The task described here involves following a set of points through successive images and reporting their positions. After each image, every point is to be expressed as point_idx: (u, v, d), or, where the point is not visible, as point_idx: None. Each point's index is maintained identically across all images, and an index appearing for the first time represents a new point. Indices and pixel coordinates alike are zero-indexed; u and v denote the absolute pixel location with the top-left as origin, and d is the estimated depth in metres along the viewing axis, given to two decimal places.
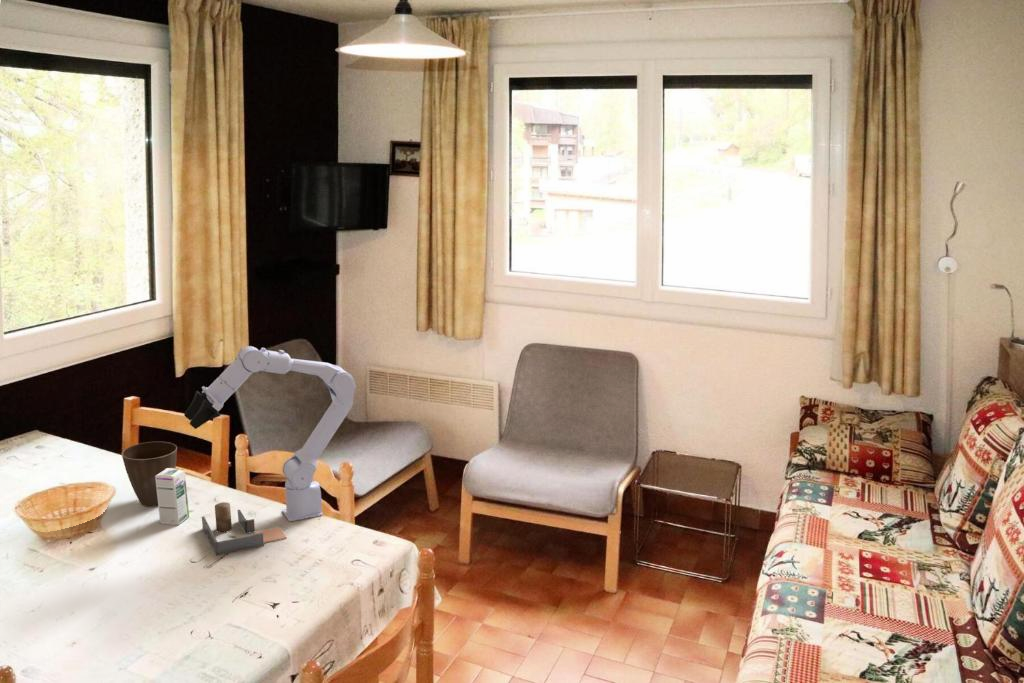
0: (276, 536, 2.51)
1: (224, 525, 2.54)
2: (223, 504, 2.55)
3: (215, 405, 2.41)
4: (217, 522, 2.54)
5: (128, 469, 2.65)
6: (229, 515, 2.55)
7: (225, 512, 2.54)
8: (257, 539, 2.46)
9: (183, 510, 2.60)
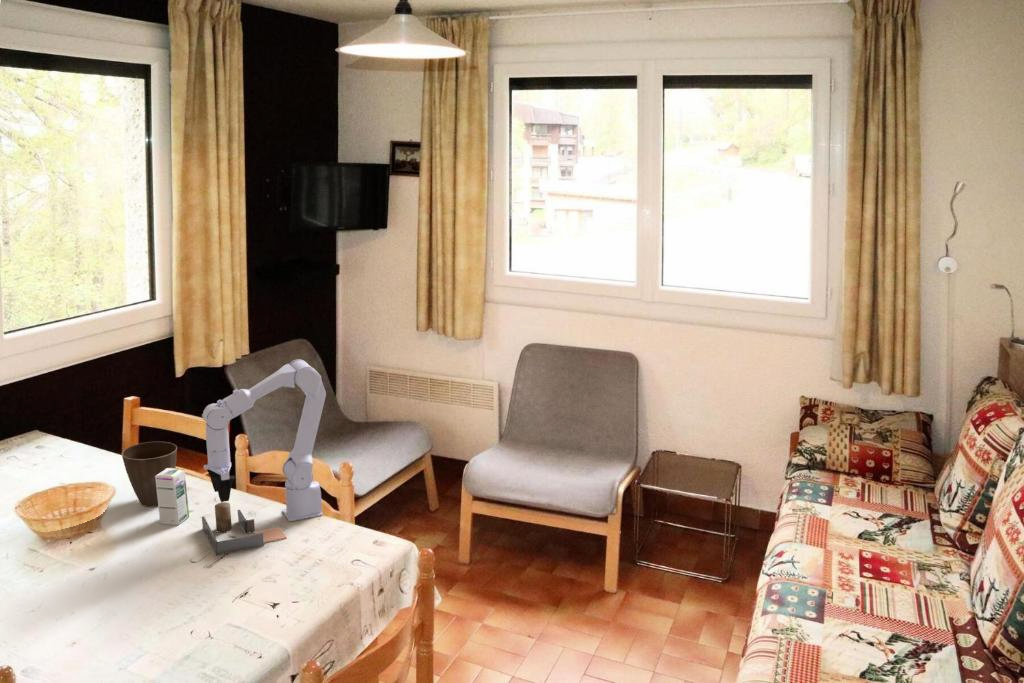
0: (276, 536, 2.51)
1: (224, 525, 2.54)
2: (223, 504, 2.55)
3: (222, 477, 2.46)
4: (217, 522, 2.54)
5: (128, 469, 2.65)
6: (229, 515, 2.55)
7: (225, 512, 2.54)
8: (257, 539, 2.46)
9: (183, 510, 2.60)
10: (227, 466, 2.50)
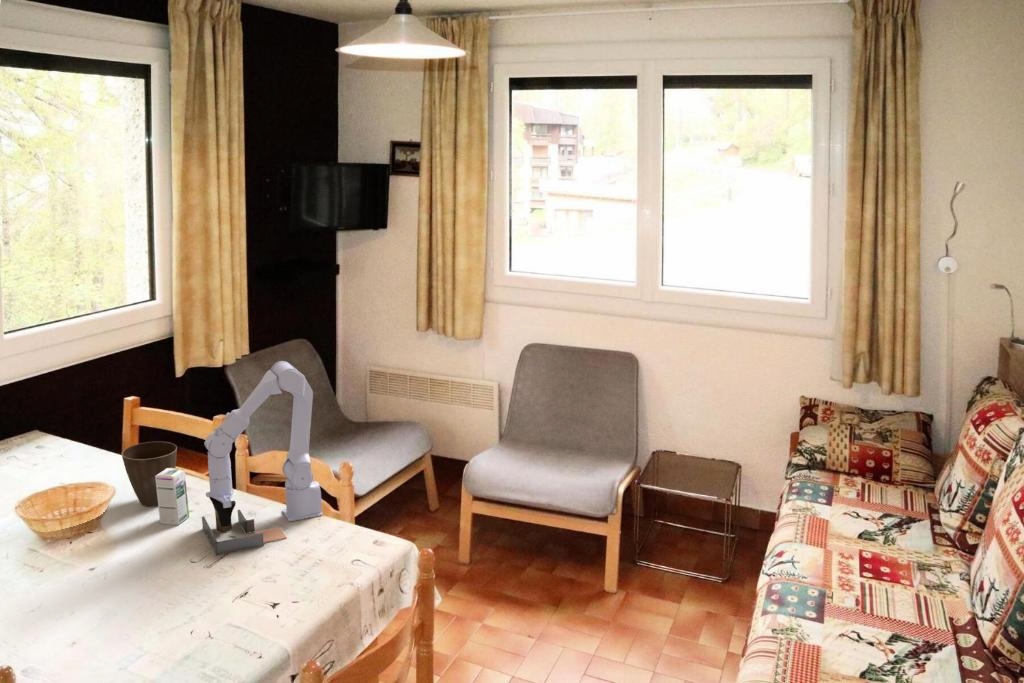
0: (276, 536, 2.51)
1: None
2: None
3: (224, 505, 2.48)
4: (217, 522, 2.54)
5: (128, 469, 2.65)
6: None
7: None
8: (257, 539, 2.46)
9: (183, 510, 2.60)
10: (229, 493, 2.52)
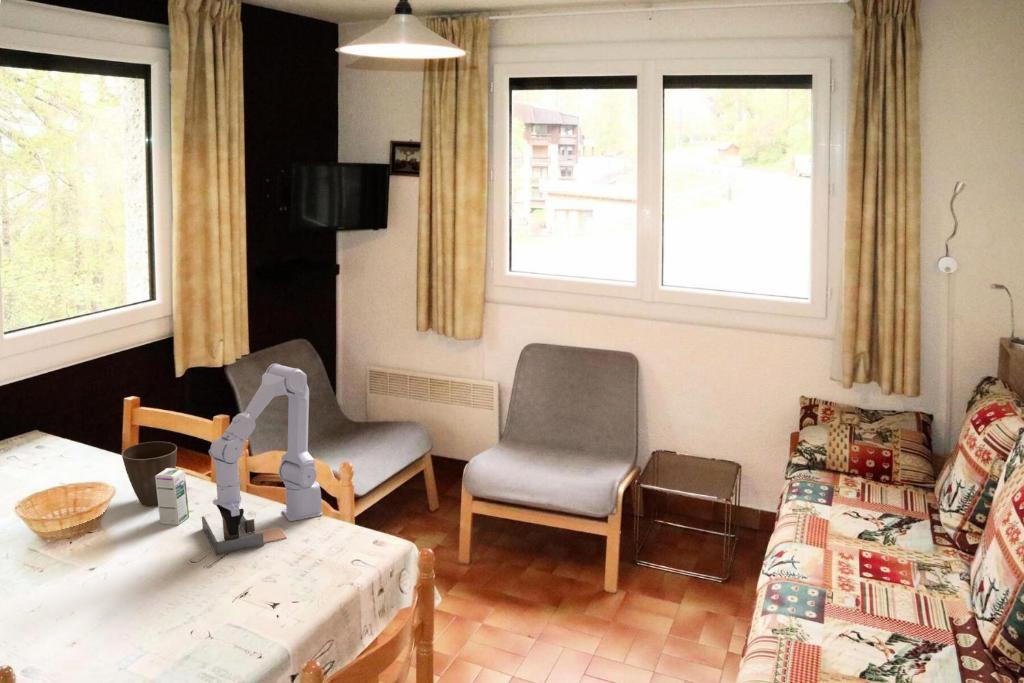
0: (276, 536, 2.51)
1: None
2: None
3: (232, 513, 2.39)
4: (225, 531, 2.45)
5: (128, 469, 2.65)
6: None
7: None
8: (257, 539, 2.46)
9: (183, 510, 2.60)
10: (237, 501, 2.43)
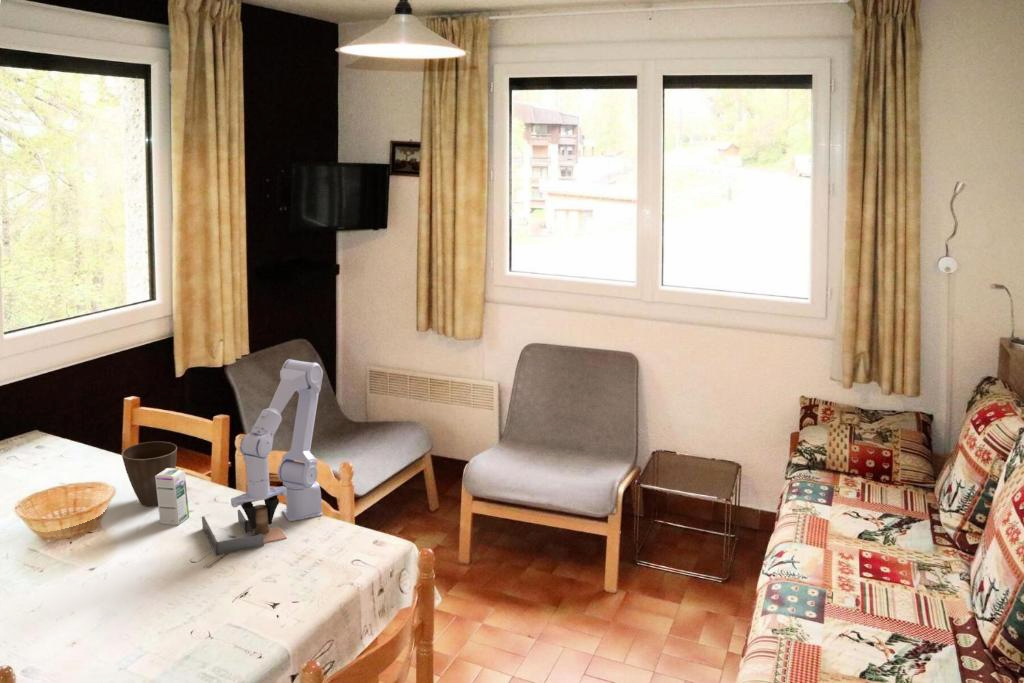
0: (276, 536, 2.51)
1: None
2: (262, 507, 2.49)
3: (231, 503, 2.45)
4: None
5: (128, 469, 2.65)
6: (257, 520, 2.48)
7: None
8: (257, 539, 2.46)
9: (183, 510, 2.60)
10: (251, 497, 2.46)
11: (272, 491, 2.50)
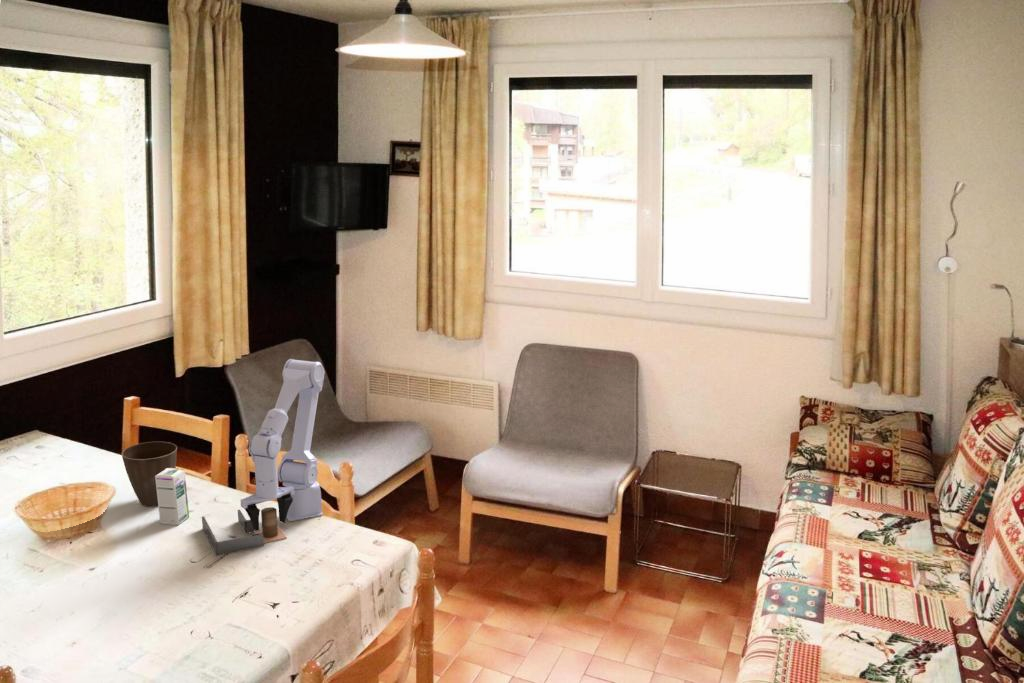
0: (276, 536, 2.51)
1: (262, 529, 2.51)
2: (271, 510, 2.51)
3: (241, 504, 2.46)
4: None
5: (128, 469, 2.65)
6: (267, 522, 2.49)
7: (262, 517, 2.50)
8: (257, 539, 2.46)
9: (183, 510, 2.60)
10: (261, 498, 2.47)
11: (280, 491, 2.52)
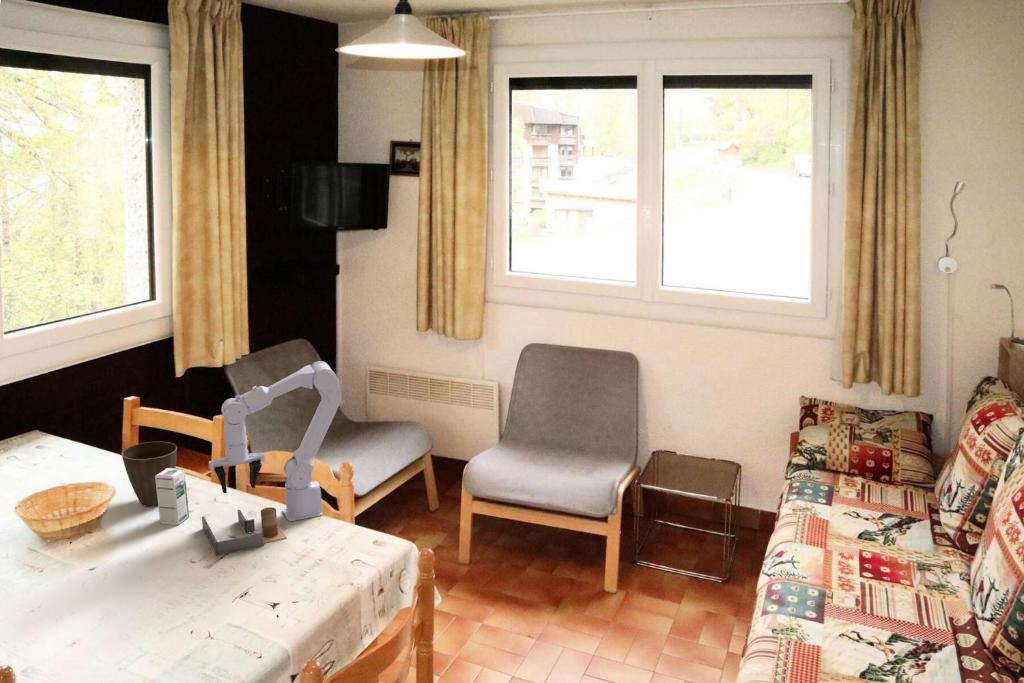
0: (276, 536, 2.51)
1: (262, 529, 2.51)
2: (270, 510, 2.51)
3: (209, 465, 2.53)
4: None
5: (128, 469, 2.65)
6: (266, 523, 2.49)
7: (262, 517, 2.49)
8: (257, 539, 2.46)
9: (183, 510, 2.60)
10: (228, 461, 2.53)
11: (250, 456, 2.57)
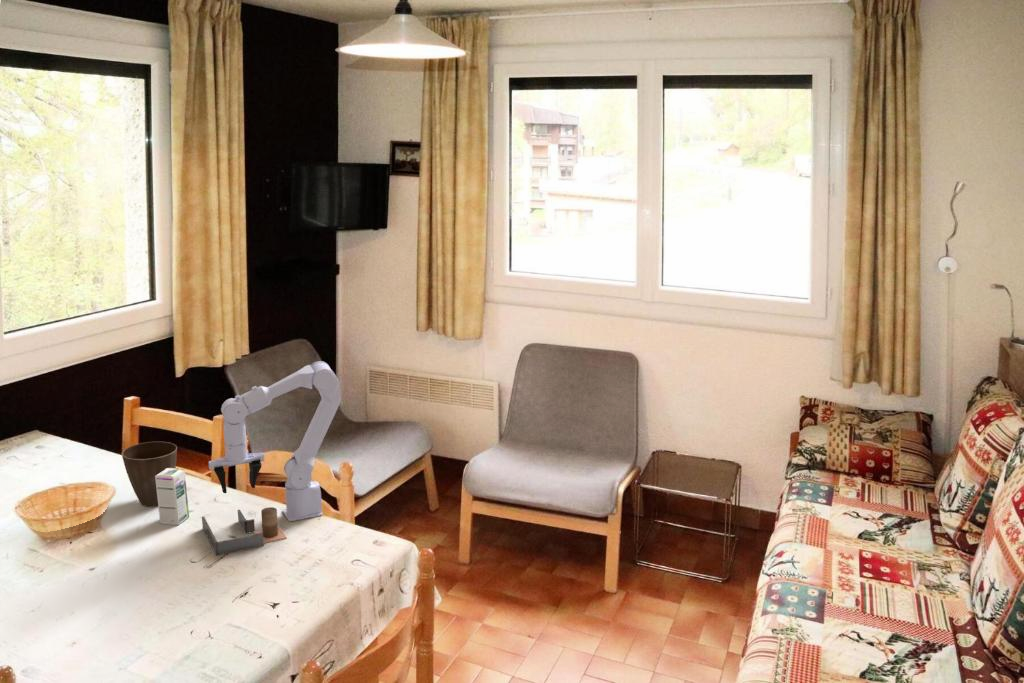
0: (276, 536, 2.51)
1: (262, 529, 2.51)
2: (271, 510, 2.51)
3: (209, 465, 2.53)
4: None
5: (128, 469, 2.65)
6: (267, 522, 2.49)
7: (263, 517, 2.50)
8: (257, 539, 2.46)
9: (183, 510, 2.60)
10: (228, 461, 2.53)
11: (250, 456, 2.57)
